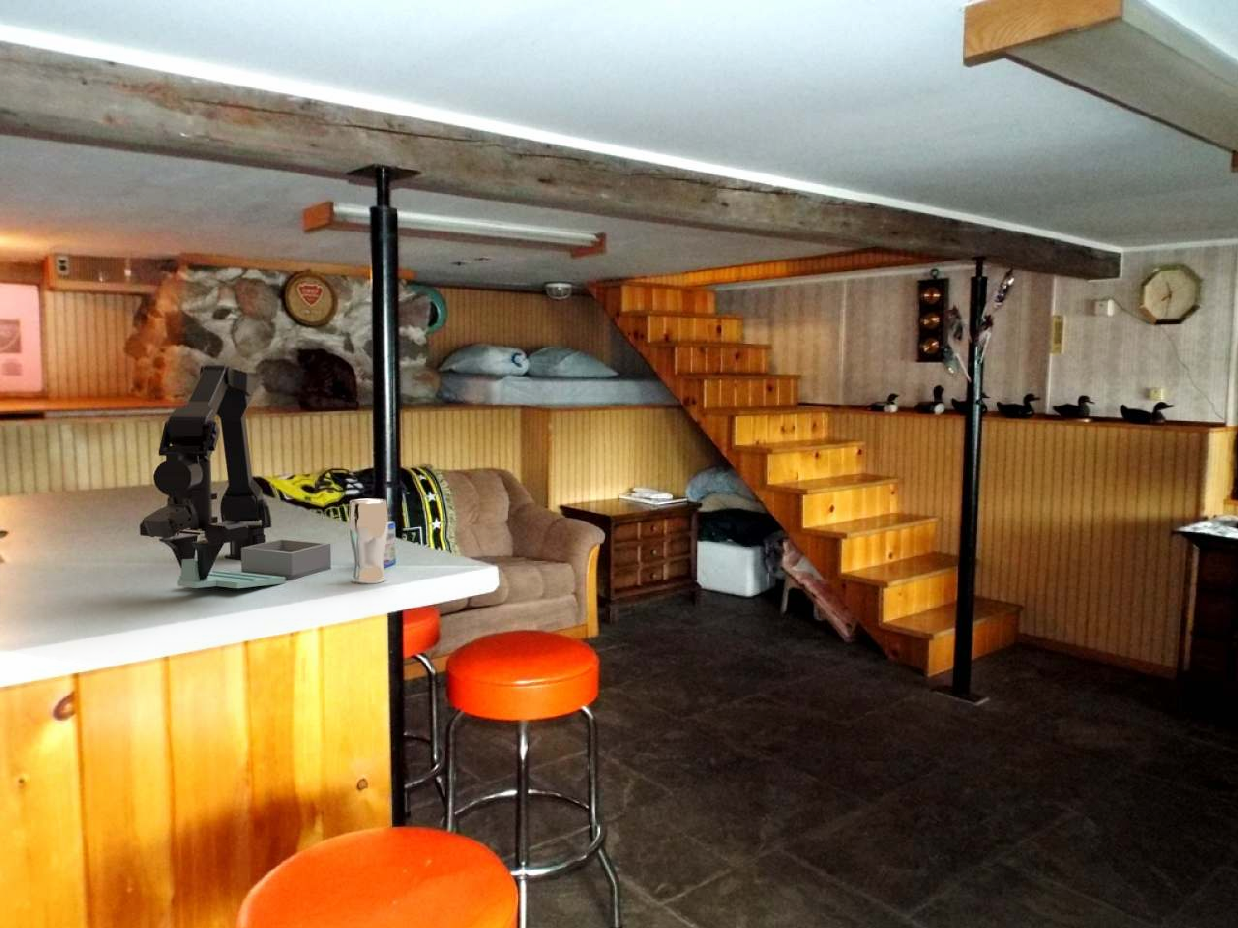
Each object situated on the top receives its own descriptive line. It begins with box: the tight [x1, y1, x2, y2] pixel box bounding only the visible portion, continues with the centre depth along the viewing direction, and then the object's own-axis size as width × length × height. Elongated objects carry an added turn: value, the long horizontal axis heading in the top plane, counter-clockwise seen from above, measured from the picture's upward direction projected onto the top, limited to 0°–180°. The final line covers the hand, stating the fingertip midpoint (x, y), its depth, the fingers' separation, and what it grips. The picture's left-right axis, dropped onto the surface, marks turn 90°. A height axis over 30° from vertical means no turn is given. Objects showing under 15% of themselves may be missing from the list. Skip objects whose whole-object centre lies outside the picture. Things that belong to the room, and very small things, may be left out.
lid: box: [176, 557, 286, 589], centre depth 163 cm, size 13×17×4 cm
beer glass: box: [348, 497, 389, 585], centre depth 171 cm, size 7×7×15 cm
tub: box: [240, 538, 332, 581], centre depth 178 cm, size 12×11×5 cm
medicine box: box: [383, 521, 397, 569], centre depth 184 cm, size 8×4×9 cm, turn 168°
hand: (195, 578), depth 157 cm, fingers closed on lid, 3 cm apart
